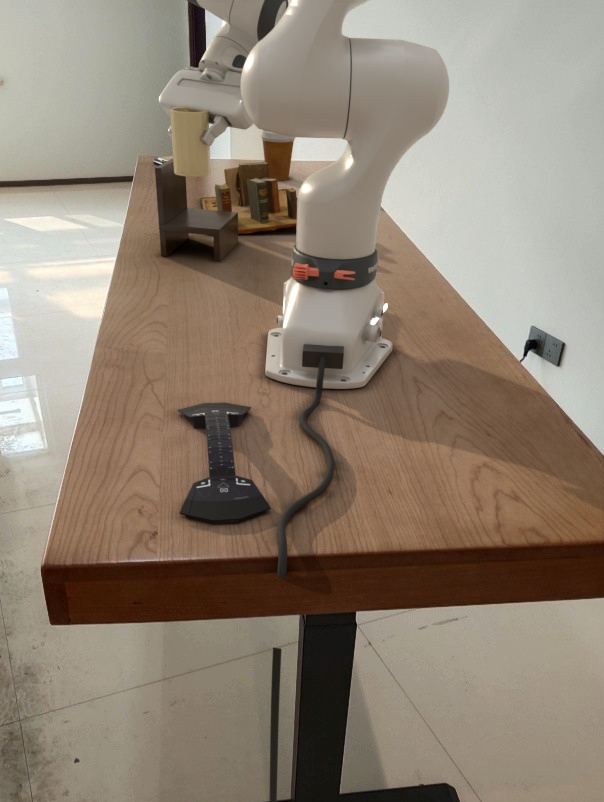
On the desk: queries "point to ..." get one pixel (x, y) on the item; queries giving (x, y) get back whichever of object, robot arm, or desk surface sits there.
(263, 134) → the disposable coffee cup
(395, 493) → the desk surface
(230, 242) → the dark grey toy chair
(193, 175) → the cup
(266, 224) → the book stand
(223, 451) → the dark piece
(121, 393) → the desk surface
